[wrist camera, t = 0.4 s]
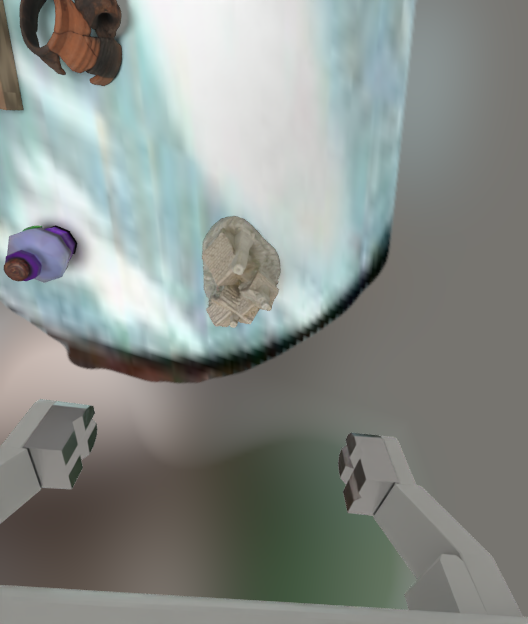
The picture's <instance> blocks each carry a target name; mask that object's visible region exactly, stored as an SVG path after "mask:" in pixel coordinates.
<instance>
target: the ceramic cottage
mask: <svg viewBox="0 0 528 624" xmlns="http://www.w3.org/2000/svg"><path fill="white" fill-rule="evenodd" d="M202 254H203V255H202V259H203V265H204V266H203V269H204V271H203V272H204V290H205V293H206V296H207V297H208V298H209V307H208V308H207V309H206V310H207V313H208V314H209V316H210V318H211V320H212V322H213V324H214V325H215V326H222V327H227V326H229V325H230V327H233V328H235V327H236V326H237V323H238V321H239V322H240V323H246V324H251V323H252V321H253V319H254V317H255V316H256V314H257V312H258V311H259V309H262V310H267V311H270V310H271V309H272V304H273V301H274V299H275V298H276V296H277V294H278V290H279V289H278V288H277V287H276V285H277V284H278V278H279V275H280V261H279V257H278V254H277V252H276V250H275V249H274V248H273V247H272V246H271V245H270V244H269V243H268V242H267V241H266V240H265V239H264V238H263V237H262V236H261V234H260V233H259V232H257V231H256V230H255V229H254V227H253V226H252V225H250V224H249V222H248V221H246V220H245V219H243V218H240V217H237V216H232V217H225V218H221V219H220V220H219V221H218V222H217V223H215V224H214V225H213V226H212V228H211V229H210V230H209V231H208V233H207V234H206V236H205V238H204V240H203V253H202Z"/></svg>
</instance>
